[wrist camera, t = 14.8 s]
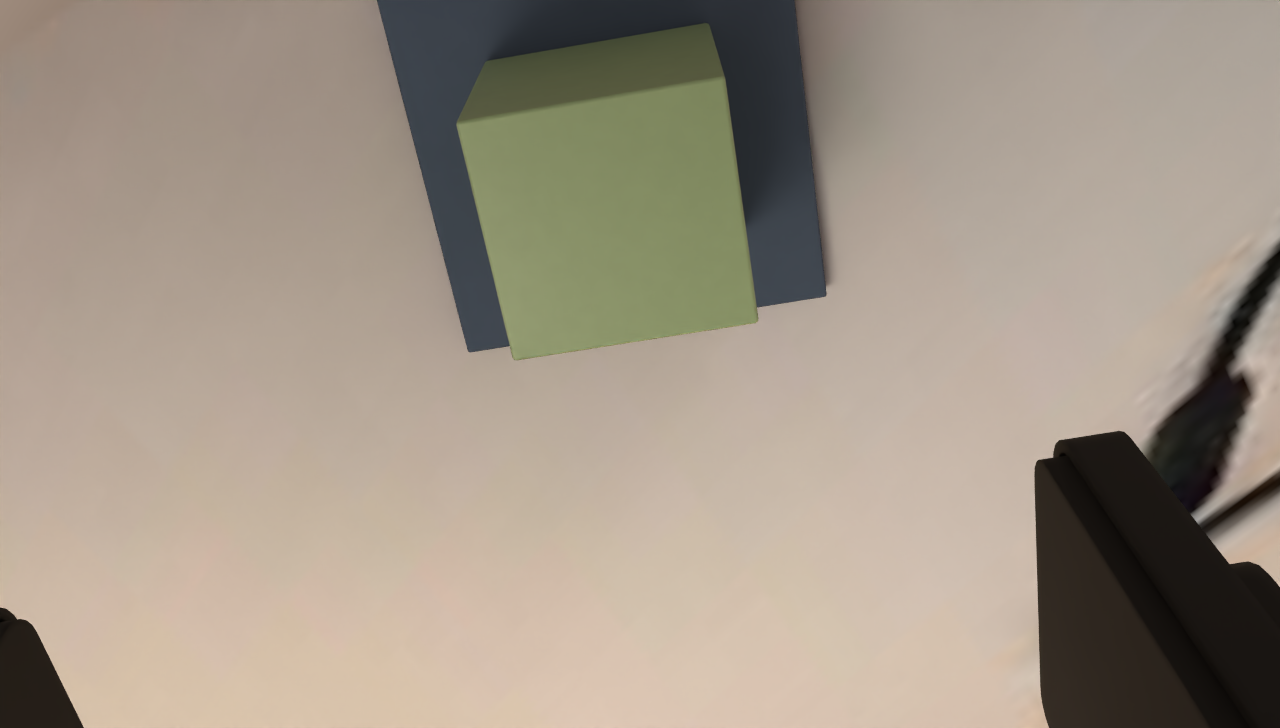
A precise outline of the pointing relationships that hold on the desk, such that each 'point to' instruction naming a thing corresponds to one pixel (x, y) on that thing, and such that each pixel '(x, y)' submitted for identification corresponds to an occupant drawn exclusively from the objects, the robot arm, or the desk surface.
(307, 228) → the desk surface
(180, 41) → the desk surface
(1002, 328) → the desk surface
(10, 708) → the robot arm
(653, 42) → the top block
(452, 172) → the coaster
